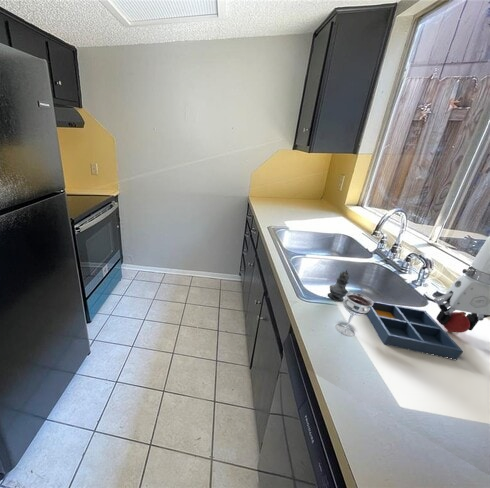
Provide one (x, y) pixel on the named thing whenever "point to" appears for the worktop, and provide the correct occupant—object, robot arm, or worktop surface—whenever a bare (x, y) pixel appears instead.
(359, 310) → the wineglass
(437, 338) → the grid
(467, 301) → the robot arm
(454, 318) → the onion
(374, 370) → the worktop surface
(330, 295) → the dark grey statuette
